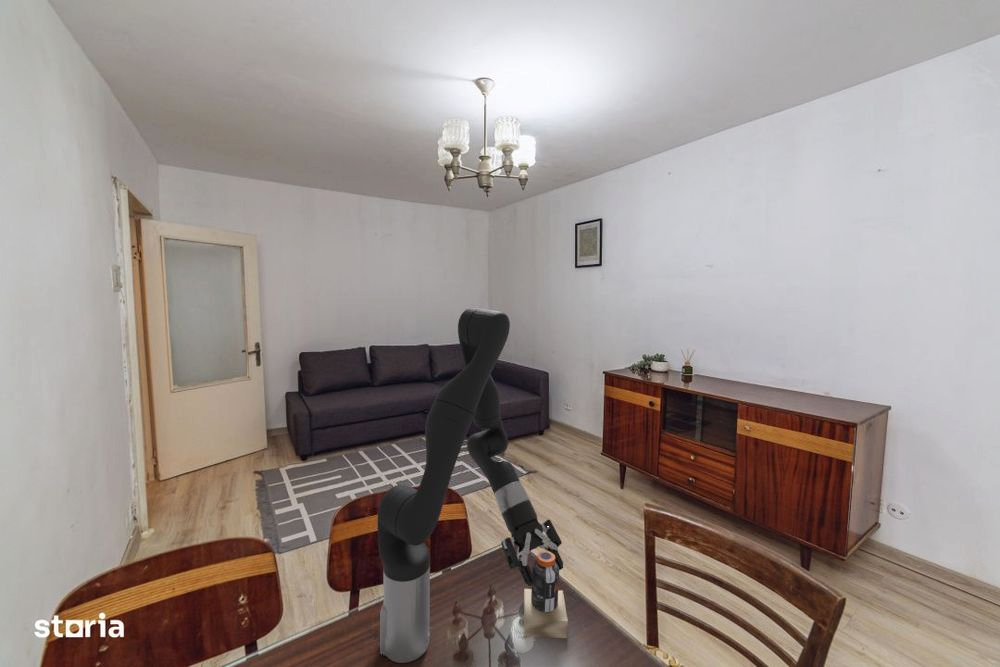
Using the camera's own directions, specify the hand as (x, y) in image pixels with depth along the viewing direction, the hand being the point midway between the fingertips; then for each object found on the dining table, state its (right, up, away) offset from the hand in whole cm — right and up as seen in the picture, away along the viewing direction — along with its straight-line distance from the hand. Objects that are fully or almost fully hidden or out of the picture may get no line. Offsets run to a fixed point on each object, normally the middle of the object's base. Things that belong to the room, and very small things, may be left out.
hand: (546, 577), depth 92 cm
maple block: (0, -11, +1) cm, 11 cm away
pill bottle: (0, -7, +1) cm, 7 cm away
